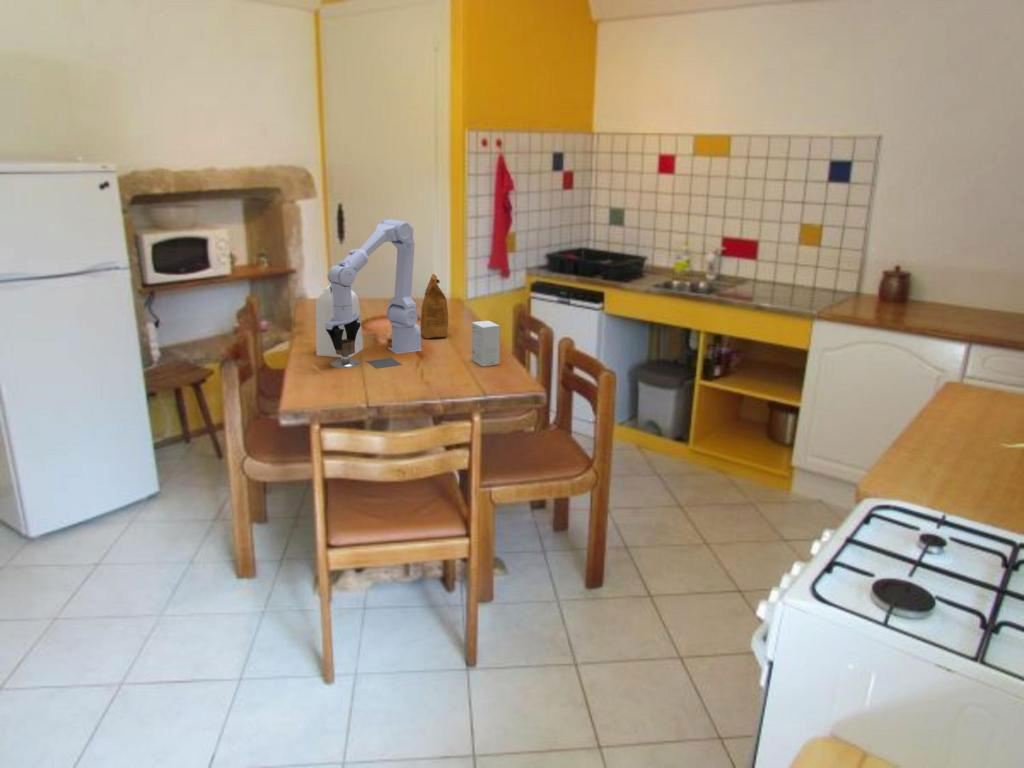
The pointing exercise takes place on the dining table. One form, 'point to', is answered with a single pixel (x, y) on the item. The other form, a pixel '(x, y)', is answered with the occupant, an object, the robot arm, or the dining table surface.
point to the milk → (325, 315)
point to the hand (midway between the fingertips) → (344, 347)
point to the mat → (383, 363)
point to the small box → (485, 343)
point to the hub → (345, 362)
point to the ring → (346, 347)
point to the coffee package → (434, 311)
